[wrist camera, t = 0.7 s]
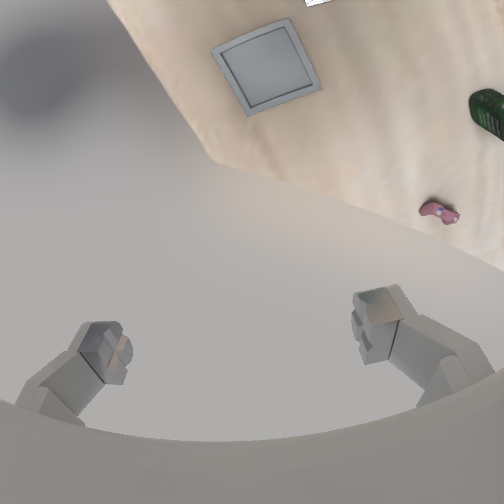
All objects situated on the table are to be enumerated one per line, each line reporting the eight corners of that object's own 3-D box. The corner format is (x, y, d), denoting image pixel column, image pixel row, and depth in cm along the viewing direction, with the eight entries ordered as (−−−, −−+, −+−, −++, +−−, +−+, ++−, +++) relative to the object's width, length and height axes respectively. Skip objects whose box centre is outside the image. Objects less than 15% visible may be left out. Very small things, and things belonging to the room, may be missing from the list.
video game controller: (449, 207, 56) (466, 213, 50) (444, 224, 58) (460, 231, 51) (421, 195, 56) (438, 200, 49) (416, 213, 57) (433, 220, 50)
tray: (212, 50, 38) (209, 50, 37) (287, 18, 33) (288, 17, 32) (248, 113, 46) (247, 116, 45) (320, 87, 41) (322, 89, 40)
